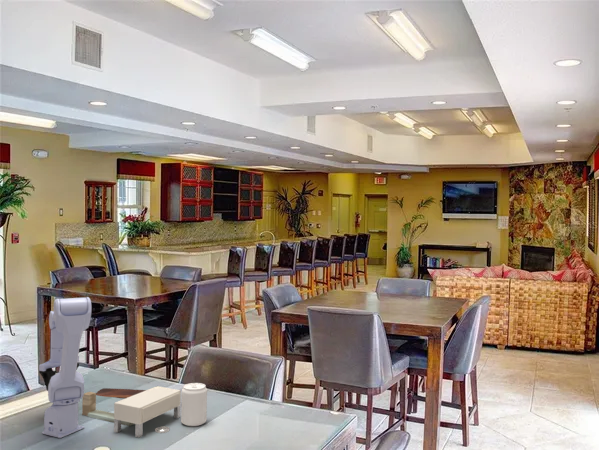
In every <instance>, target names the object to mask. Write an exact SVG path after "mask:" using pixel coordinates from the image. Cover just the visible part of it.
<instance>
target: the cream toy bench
mask: <svg viewBox="0 0 599 450" xmlns="http://www.w3.org/2000/svg"><path fill="white" fill-rule="evenodd" d="M145 390H146V391H143V392H141V393H138V394H136V395H133V396H131V397H128V398H122V399H121V400H118V401H116V402H114V403H113V405H114V406H113V413H114V423H113V432H114V433H117V434H118V433H120V432H121V431H122V424H121V421H125V422H130V423H134V424H133V425H135V429H134V430H135V435H134V436H135V438H138V439H139V438H142V437H143V435H144V434H143V426H144V425H143V424H144V423H146V422H148V421H150V420H153V419H154V418H156V417H158V416H161V415H163V414H165V413H167V412H169V411H171V410H173V419H181V406H182V389H174V388H171V387H170V388H169V387H165V386H158V385H157V386H154V387H151V388H149V389H145Z"/></svg>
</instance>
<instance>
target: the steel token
mask: <svg viewBox="0 0 599 450" xmlns="http://www.w3.org/2000/svg"><path fill="white" fill-rule="evenodd" d="M170 429H171V428H170V427H169V426H167V425H166V426H165V425H164V426H162V425H161V426H157V427H156V428H154V432H155V433H157V434H166V433H169V432H170Z"/></svg>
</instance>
